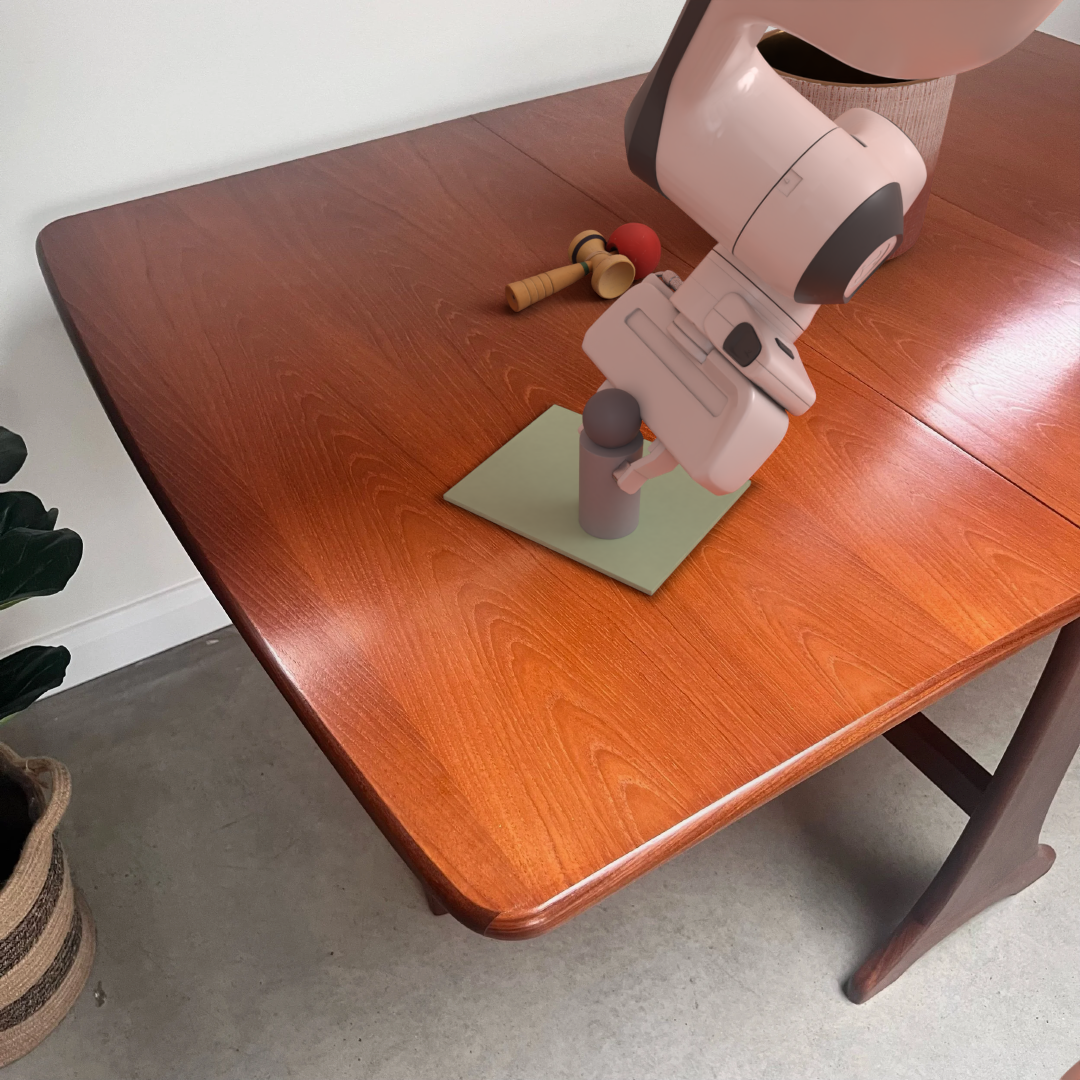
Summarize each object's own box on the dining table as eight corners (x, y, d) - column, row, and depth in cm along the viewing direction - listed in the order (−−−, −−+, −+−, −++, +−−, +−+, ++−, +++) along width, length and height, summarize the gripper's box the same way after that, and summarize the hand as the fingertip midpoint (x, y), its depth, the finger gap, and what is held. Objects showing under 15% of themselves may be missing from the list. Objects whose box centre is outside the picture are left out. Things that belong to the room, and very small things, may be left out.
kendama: (536, 340, 107) (680, 276, 112) (521, 283, 103) (672, 219, 108) (503, 320, 113) (642, 259, 118) (489, 265, 109) (632, 205, 114)
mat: (750, 485, 87) (751, 480, 86) (651, 596, 77) (651, 591, 77) (554, 408, 96) (554, 403, 95) (443, 499, 86) (442, 494, 86)
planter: (737, 186, 132) (757, 15, 119) (919, 203, 127) (960, 27, 114) (711, 265, 116) (730, 78, 103) (917, 288, 111) (964, 95, 98)
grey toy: (650, 514, 83) (658, 388, 75) (617, 547, 81) (623, 420, 73) (599, 493, 86) (603, 368, 78) (566, 524, 83) (566, 398, 75)
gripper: (638, 239, 80) (524, 376, 84) (782, 372, 66) (637, 528, 70) (685, 281, 84) (574, 409, 88) (830, 413, 70) (690, 559, 74)
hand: (603, 463), depth 79 cm, fingers closed on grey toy, 5 cm apart
